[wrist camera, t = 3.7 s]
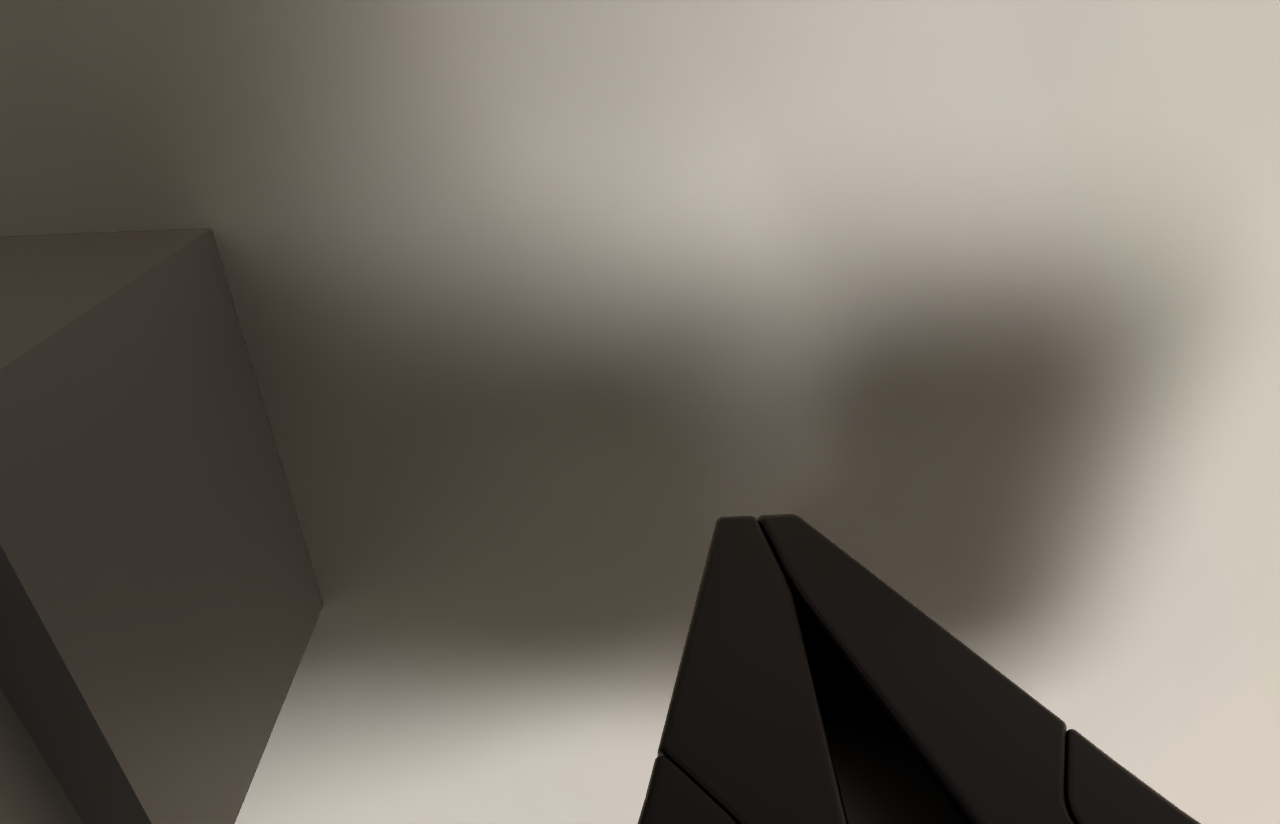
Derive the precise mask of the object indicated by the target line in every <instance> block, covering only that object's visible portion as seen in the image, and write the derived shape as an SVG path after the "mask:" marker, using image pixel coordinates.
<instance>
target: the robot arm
mask: <svg viewBox="0 0 1280 824" xmlns="http://www.w3.org/2000/svg"><path fill="white" fill-rule="evenodd" d="M638 824H1200V823H1199V822H1198V821H1196V820H1195V819H1193V818H1192V817H1190V816H1189V815H1187V814H1186V813H1185V812H1183V811H1182V810H1180V809H1179V808H1178V807H1176V806H1175V805H1174V804H1172V803H1171V802H1170V801H1168V800H1167V799H1165V798H1164V797H1163V796H1161V795H1160V794H1159V793H1157V792H1156V791H1155V790H1153V789H1152V788H1151V787H1149V786H1148V785H1147V784H1145V783H1144V782H1143V781H1141V780H1140V779H1139V778H1137V777H1136V776H1135V775H1133V774H1132V773H1131V772H1129V771H1128V770H1127V769H1125V768H1124V767H1123V766H1121V765H1120V764H1118V763H1117V762H1116V761H1114V760H1113V759H1112V758H1111V757H1109V756H1108V755H1107V754H1105V753H1104V752H1103V751H1102V750H1100V749H1099V748H1098V747H1096V746H1095V745H1094V744H1092V743H1091V742H1090V741H1089V740H1087V739H1086V738H1085V737H1083V736H1082V735H1081V734H1080V733H1078V732H1077V731H1076V730H1073V729H1070V730H1068V731H1067V732H1066V724H1065V723H1064V722H1063V721H1062V720H1061V719H1060V718H1058V717H1057V716H1056V715H1055V714H1053V713H1052V712H1051V711H1049V710H1048V709H1047V708H1046V707H1044V706H1043V705H1042V704H1040V703H1039V702H1038V701H1036V700H1035V699H1034V698H1033V697H1031V696H1030V695H1029V694H1027V693H1026V692H1025V691H1024V690H1022V689H1021V688H1020V687H1018V686H1017V685H1016V684H1015V683H1013V682H1012V681H1011V680H1009V679H1008V678H1007V677H1005V676H1004V675H1003V674H1002V673H1000V672H999V671H998V670H996V669H995V668H994V667H993V666H991V665H990V664H989V663H987V662H986V661H985V660H984V659H982V658H981V657H980V656H978V655H977V654H976V653H974V652H973V651H972V650H971V649H969V648H968V647H967V646H965V645H964V644H963V643H962V642H960V641H959V640H958V639H956V638H955V637H954V636H953V635H951V634H950V633H949V632H947V631H946V630H945V629H944V628H942V627H941V626H940V625H938V624H937V623H936V622H934V621H933V620H932V619H931V618H929V617H928V616H927V615H925V614H924V613H923V612H922V611H920V610H919V609H918V608H916V607H915V606H914V605H913V604H911V603H910V602H909V601H907V600H906V599H905V598H903V597H902V596H901V595H900V594H898V593H897V592H896V591H894V590H893V589H892V588H891V587H889V586H888V585H887V584H885V583H884V582H883V581H882V580H880V579H879V578H878V577H876V576H875V575H874V574H872V573H871V572H870V571H869V570H867V569H866V568H865V567H863V566H862V565H861V564H860V563H858V562H857V561H856V560H854V559H853V558H852V557H851V556H849V555H848V554H847V553H845V552H844V551H843V550H842V549H840V548H839V547H838V546H836V545H835V544H834V543H832V542H831V541H830V540H829V539H827V538H826V537H825V536H823V535H822V534H821V533H820V532H818V531H817V530H816V529H814V528H813V527H812V526H811V525H809V524H808V523H807V522H805V521H804V520H803V519H801V518H800V517H798V516H797V515H794V514H779V515H762V516H760V517H759V518H758V519H756V518H754V517H752V516H732V517H721V518H719V519H718V520H717V521H716V525H715V528H714V532H713V536H712V540H711V544H710V548H709V552H708V556H707V560H706V564H705V568H704V572H703V576H702V579H701V583H700V587H699V591H698V595H697V599H696V603H695V607H694V611H693V615H692V619H691V623H690V627H689V631H688V635H687V638H686V642H685V646H684V650H683V654H682V658H681V662H680V666H679V670H678V674H677V678H676V682H675V686H674V690H673V694H672V697H671V701H670V705H669V709H668V713H667V717H666V721H665V725H664V729H663V733H662V737H661V741H660V745H659V749H658V757H657V758H656V759H655V762H654V766H653V770H652V774H651V778H650V782H649V786H648V790H647V794H646V798H645V801H644V804H643V808H642V811H641V814H640V818H639V821H638Z"/></svg>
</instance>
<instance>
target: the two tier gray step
mask: <svg viewBox="0 0 1280 824" xmlns="http://www.w3.org/2000/svg"><path fill="white" fill-rule="evenodd" d="M322 606H323V603H322V599H321V596H320V592H319V589H318V586H317V582H316V579H315V576H314V572H313V569H312V566H311V562H310V559H309V556H308V552H307V549H306V545H305V542H304V539H303V535H302V532H301V529H300V525H299V522H298V519H297V515H296V512H295V509H294V505H293V502H292V498H291V495H290V492H289V488H288V485H287V482H286V478H285V475H284V472H283V468H282V465H281V462H280V458H279V455H278V451H277V448H276V445H275V441H274V438H273V435H272V431H271V428H270V425H269V421H268V418H267V415H266V411H265V408H264V404H263V401H262V398H261V394H260V391H259V388H258V384H257V381H256V378H255V374H254V371H253V368H252V364H251V361H250V357H249V354H248V351H247V347H246V344H245V341H244V337H243V334H242V331H241V327H240V324H239V321H238V317H237V314H236V310H235V307H234V304H233V300H232V297H231V294H230V290H229V287H228V284H227V280H226V277H225V274H224V270H223V267H222V263H221V260H220V257H219V253H218V250H217V247H216V243H215V240H214V237H213V233H212V230H211V228H203V229H179V230H155V231H131V232H107V233H83V234H59V235H35V236H11V237H0V824H235V821H236V819H237V816H238V814H239V811H240V809H241V806H242V804H243V801H244V799H245V796H246V794H247V792H248V789H249V787H250V784H251V782H252V779H253V777H254V774H255V772H256V769H257V767H258V764H259V762H260V759H261V757H262V754H263V752H264V750H265V747H266V745H267V742H268V740H269V737H270V735H271V732H272V730H273V727H274V725H275V722H276V720H277V717H278V715H279V712H280V710H281V708H282V705H283V703H284V700H285V698H286V695H287V693H288V690H289V688H290V685H291V683H292V680H293V678H294V675H295V673H296V670H297V668H298V666H299V663H300V661H301V658H302V656H303V653H304V651H305V648H306V646H307V643H308V641H309V638H310V636H311V633H312V631H313V629H314V626H315V624H316V621H317V619H318V616H319V614H320V611H321V609H322Z"/></svg>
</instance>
